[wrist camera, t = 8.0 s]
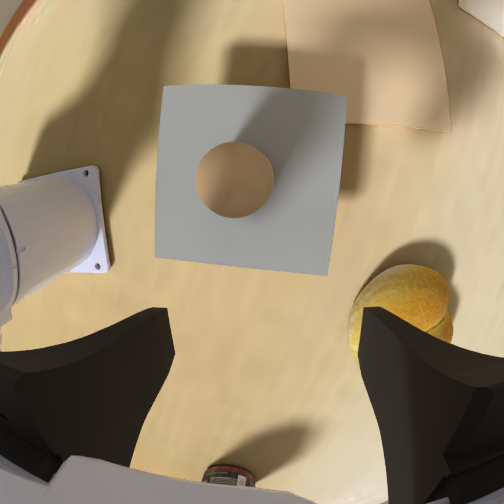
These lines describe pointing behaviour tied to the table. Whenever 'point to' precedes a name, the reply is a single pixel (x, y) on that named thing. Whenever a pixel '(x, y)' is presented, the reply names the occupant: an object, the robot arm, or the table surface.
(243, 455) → the table surface
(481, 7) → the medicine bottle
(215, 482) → the supplement bottle
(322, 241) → the lid
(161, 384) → the robot arm
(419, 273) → the bread roll
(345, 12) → the mat
